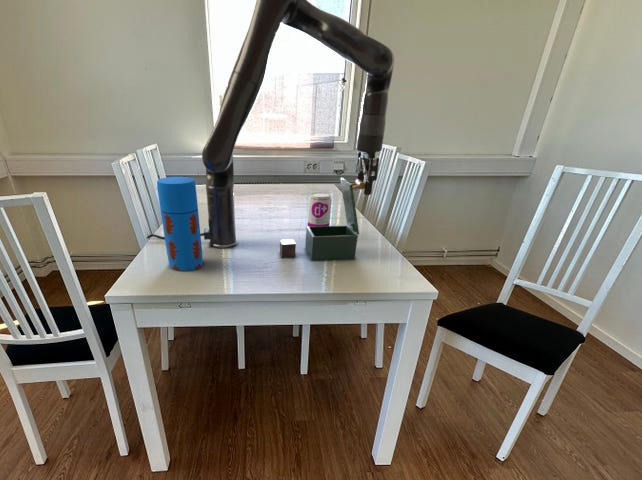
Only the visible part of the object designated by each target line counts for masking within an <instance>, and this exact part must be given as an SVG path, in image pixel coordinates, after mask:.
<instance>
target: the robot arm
mask: <svg viewBox="0 0 642 480" xmlns="http://www.w3.org/2000/svg"><path fill="white" fill-rule="evenodd" d="M280 26H285V27H288V28H291V29H292V30H293V29H294V30H296V31H298V32H300V33H302V34H304V35H306V36H307V37H310V38H311V39H313V40H314V41H316V42H318V43H319V44H320V45H322V46H323V47H325V48H327V50H330V51H331V52H333V53H334V54H336V55H337V56H338V57H340V58H341V59H344V60H345V61H347V62H350V63H352V64H354V65H355V66H356V67H358V69H360V70H361V71H363V72H364V73H366V74H367V76H366V83H365V91H364V92H363V97H362V102H361V109H360V110H361V111H360V117H359V120H358V121H359V122H358V130H357V138H356V145H355V146H356V147H355V148H356V149H355V150H356V151H357V152H356V153H357V154H356V155H357V156H356V160H355V170H354V172H355V173H356V180H357V179H359V180H361V181H362V182H364V183H365V187H364V189H363V195H365V196H371V195H372V193H373V184H374V182H375V181H377V180H378V174H379V173H378V172H379V165H380V158H379V157H376V153H380V152H381V151H382V149H383V143H384V136H385V129H386V123H387V122H386V120H387V119H386V118H387V109H388V103H389V92H390V86H391V82H392V77H393V72H394V67H395V55H394V52H393V50H392V49H391V48H390V47H389V46H388V45H386V44H384V43H382V42H381V41H379V40H377V39H375V38H373V37H371V36H369V35H368V34H366V33H365V32H364V31H363V30H361V29H360V28H358V27H357V26H355V25H354V24H352V23H351V22H349V21H348V20H345V19H344V18H342V17H340V16H338V15H335V14H332V13H330V12H327V11H325V10H322V9H320V8H319V7H317V6H315V5H314V4H313V3H311V2H309V1H308V0H256V1H255V5H254V9H253V13H252V17H251V20H250V23H249V27H248V29H247V32H246V35H245V37H244V40H243V43H242V45H241V47H240V49H239V52H238V55H237V58H236V60H235V62H234V63H235V64H234V66H233V68H232V70H231V74H230V76H229V79H228V82H227V85H226V87H225V91H224V94H223V97H222V101H221V104H220V108H219V112H218V116H217V119H216V122H215V124H214V127H213V129H212V131H211V133H210V135H209V137H208V139H207V141H206V143H205V145H204V146H203V149H202V151H201V159H202V163H203V166H204V168H205V173H206V174H205V176H206V177H205V178H206V179H205V192H206V203H207V204H206V205H207V206H206V207H207V217H208V220H207V223H208V228H204V229H203V232H202V233H201V232H200V235H201V237H203V240H205V241H207V240H209V246H210V247H211V248H217V249H224V248H225V249H226V248H231V247H235V246H236V245H237V234H236V209H235V187H234V186H235V174H234V173H235V172H234V170H235V169H234V149H235V147H236V143H237V140H238V138H239V135H240V132H241V131H242V128H243V127H244V125H245V123H246V121H247V120H248V118H249V117H250V114H251V112H252V111H253V109H254V106H255V104H256V103H257V100H258V98H259V95H260V93H261V91H262V88H263V85H264V82H265V79H266V75H267V71H268V67H269V60H270V53H271V49H272V46H273V42H274V40H275V37H276V35H277V32H278V30H279V28H280ZM356 190H361V189H360V188H357V189H356ZM151 238H156V239H159V240H165V236H162V235H157V234H153V233H151V234H148V235H147V237H146V239H147V240H149V239H151Z"/></svg>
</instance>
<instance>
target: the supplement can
mask: <svg viewBox="0 0 642 480" xmlns="http://www.w3.org/2000/svg"><path fill="white" fill-rule="evenodd" d="M332 203H333V202H332V197H331V194H330V193H327V192H312V193H311V194H310V196H309V198H308V209H307V210H308V211H307V226H306V228H307V227H309V226H331V214H332Z"/></svg>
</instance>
